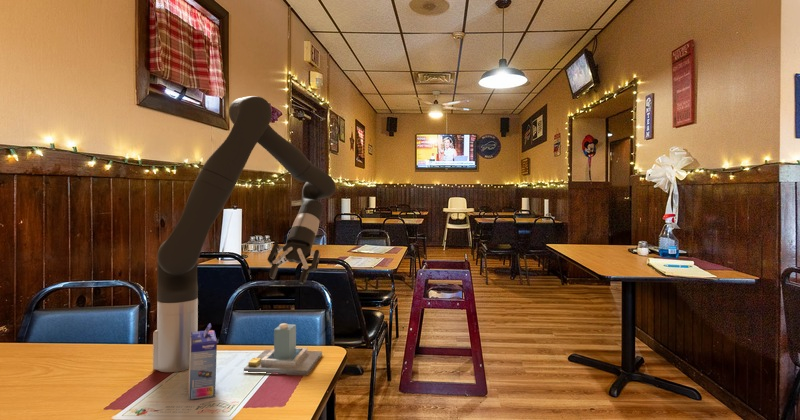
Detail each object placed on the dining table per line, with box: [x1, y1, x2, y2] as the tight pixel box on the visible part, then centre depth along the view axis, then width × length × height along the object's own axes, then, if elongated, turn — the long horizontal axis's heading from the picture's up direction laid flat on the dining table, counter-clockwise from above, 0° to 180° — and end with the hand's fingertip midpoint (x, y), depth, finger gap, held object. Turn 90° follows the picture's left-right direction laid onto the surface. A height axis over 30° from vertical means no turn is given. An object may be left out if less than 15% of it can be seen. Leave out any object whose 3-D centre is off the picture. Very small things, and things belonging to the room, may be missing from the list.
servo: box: [273, 322, 297, 359], centre depth 109 cm, size 4×5×10 cm
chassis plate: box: [243, 346, 323, 377], centre depth 109 cm, size 16×14×3 cm
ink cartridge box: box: [187, 322, 218, 401], centre depth 93 cm, size 10×6×14 cm, turn 27°
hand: (286, 280), depth 117 cm, fingers open, 8 cm apart
